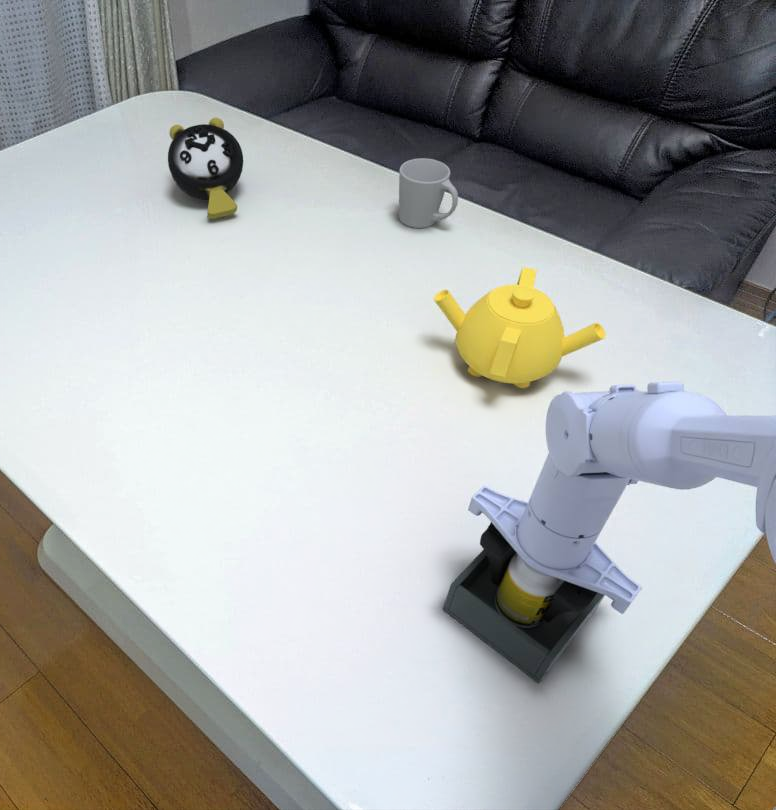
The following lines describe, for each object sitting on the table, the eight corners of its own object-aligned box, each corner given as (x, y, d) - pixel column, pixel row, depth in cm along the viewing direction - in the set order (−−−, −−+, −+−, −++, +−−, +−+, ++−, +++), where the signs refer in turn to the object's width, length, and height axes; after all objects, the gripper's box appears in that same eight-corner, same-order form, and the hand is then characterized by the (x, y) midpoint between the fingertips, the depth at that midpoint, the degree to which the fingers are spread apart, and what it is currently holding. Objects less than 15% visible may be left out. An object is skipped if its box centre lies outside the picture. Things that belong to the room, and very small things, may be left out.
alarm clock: (175, 234, 124) (134, 149, 117) (219, 196, 133) (183, 115, 126) (228, 222, 117) (188, 131, 109) (271, 183, 126) (236, 96, 118)
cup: (411, 201, 121) (418, 153, 115) (463, 223, 116) (474, 173, 110) (383, 220, 118) (389, 171, 112) (436, 243, 113) (445, 193, 107)
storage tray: (595, 609, 70) (611, 584, 66) (538, 683, 65) (552, 660, 62) (501, 545, 75) (511, 518, 72) (442, 609, 70) (450, 584, 67)
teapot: (407, 387, 91) (420, 317, 83) (441, 304, 102) (455, 235, 94) (577, 432, 85) (608, 361, 77) (593, 338, 96) (622, 268, 88)
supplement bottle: (534, 639, 67) (560, 591, 61) (485, 611, 69) (505, 563, 63) (553, 600, 70) (580, 551, 64) (506, 575, 72) (527, 525, 66)
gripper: (681, 532, 56) (621, 618, 66) (514, 434, 64) (482, 524, 74) (638, 590, 53) (582, 671, 63) (467, 479, 61) (440, 567, 70)
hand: (525, 595), depth 68 cm, fingers closed on supplement bottle, 5 cm apart
